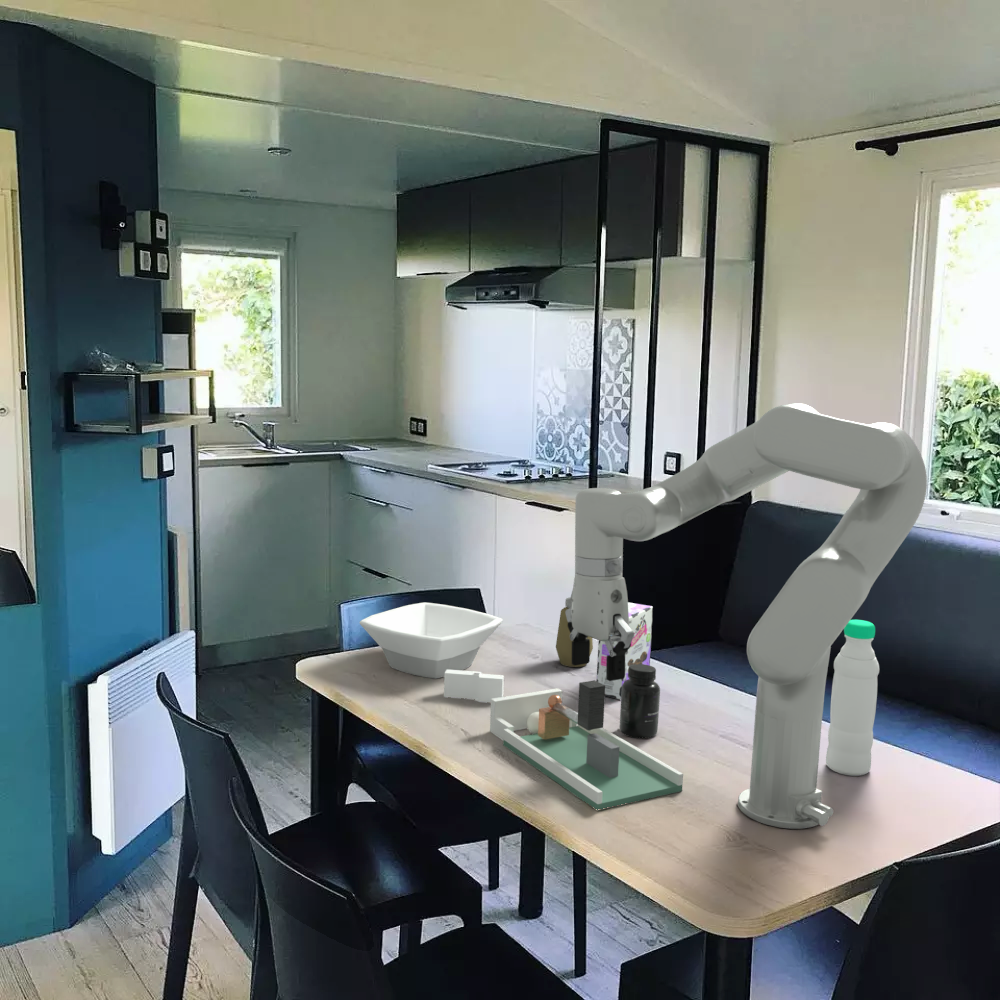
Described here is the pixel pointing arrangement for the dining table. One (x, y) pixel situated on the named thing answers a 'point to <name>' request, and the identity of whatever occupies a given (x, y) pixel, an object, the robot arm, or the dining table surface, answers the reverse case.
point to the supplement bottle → (640, 702)
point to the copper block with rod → (573, 712)
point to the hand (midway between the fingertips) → (597, 671)
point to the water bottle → (853, 702)
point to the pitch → (583, 756)
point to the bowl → (430, 637)
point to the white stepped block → (473, 685)
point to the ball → (533, 722)
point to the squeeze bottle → (566, 638)
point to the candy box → (636, 653)
